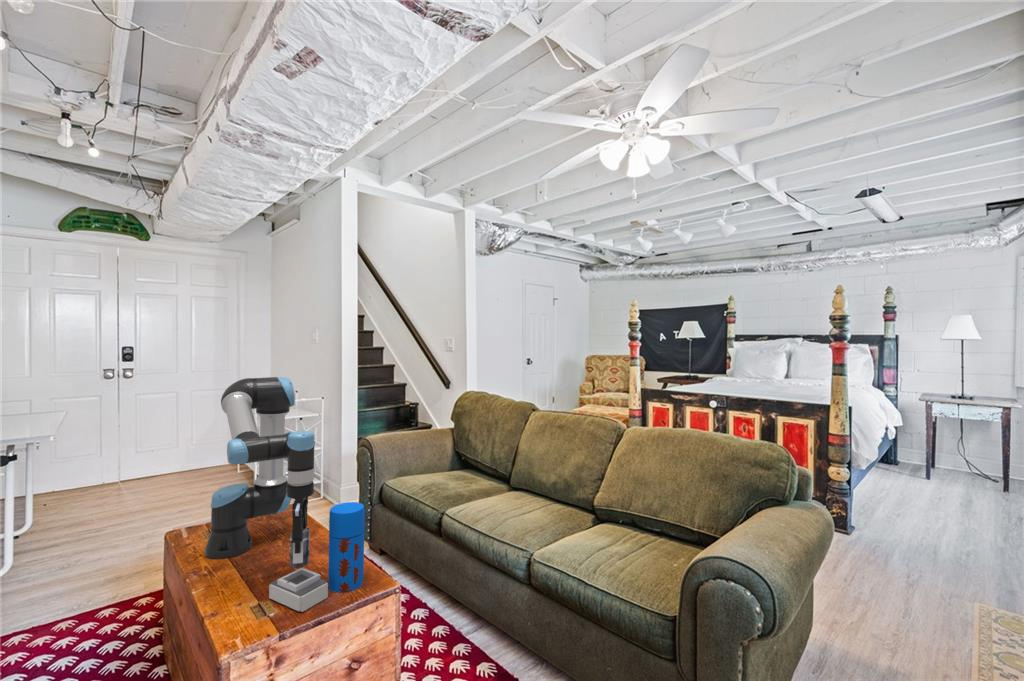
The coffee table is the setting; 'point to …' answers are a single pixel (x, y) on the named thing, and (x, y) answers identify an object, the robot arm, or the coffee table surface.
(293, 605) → the grey square frame
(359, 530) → the thermos
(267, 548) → the coffee table surface
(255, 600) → the coffee table surface
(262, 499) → the robot arm
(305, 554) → the lens
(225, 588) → the coffee table surface
